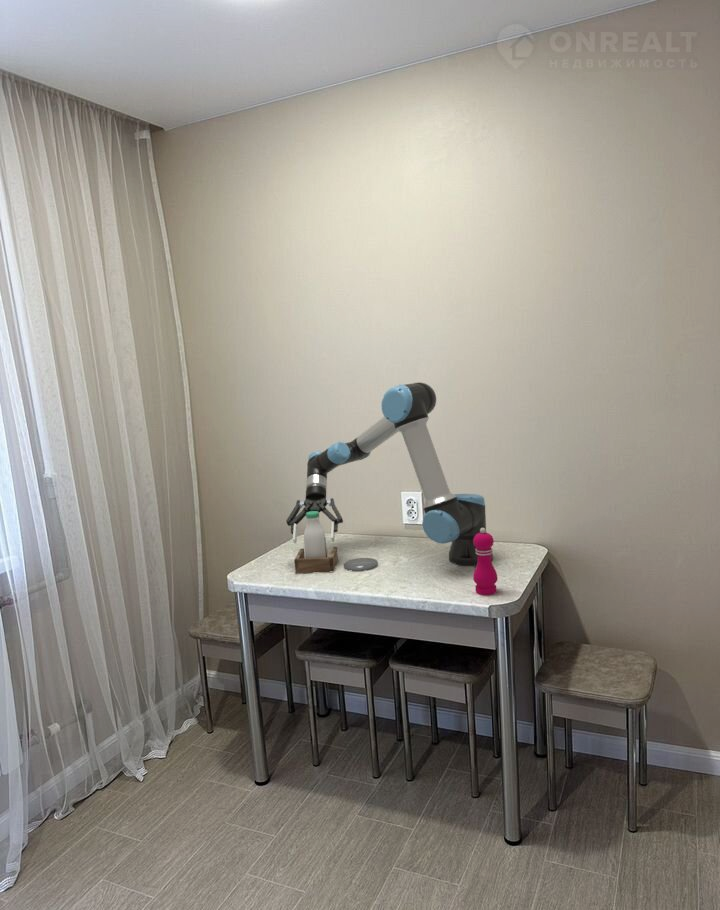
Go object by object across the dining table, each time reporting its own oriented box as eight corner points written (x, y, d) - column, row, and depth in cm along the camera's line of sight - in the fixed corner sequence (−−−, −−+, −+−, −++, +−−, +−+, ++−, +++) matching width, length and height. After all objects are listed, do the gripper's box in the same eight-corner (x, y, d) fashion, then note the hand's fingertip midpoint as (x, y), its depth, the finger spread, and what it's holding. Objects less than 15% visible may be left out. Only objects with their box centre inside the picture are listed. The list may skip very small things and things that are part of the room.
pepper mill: (471, 595, 212) (468, 530, 209) (476, 586, 218) (473, 524, 215) (495, 596, 209) (492, 531, 206) (500, 588, 216) (497, 524, 213)
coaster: (383, 566, 245) (383, 563, 245) (352, 573, 240) (352, 570, 240) (368, 558, 256) (368, 555, 256) (338, 564, 251) (338, 562, 251)
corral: (333, 572, 243) (332, 558, 243) (295, 573, 245) (294, 560, 244) (338, 559, 257) (336, 546, 256) (301, 561, 258) (300, 548, 257)
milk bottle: (325, 570, 246) (320, 514, 243) (303, 570, 248) (298, 515, 245) (330, 563, 254) (325, 509, 250) (309, 563, 255) (304, 509, 252)
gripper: (351, 493, 262) (350, 543, 249) (285, 497, 264) (280, 547, 252) (348, 482, 256) (347, 533, 243) (281, 486, 258) (276, 537, 246)
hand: (313, 540), depth 248 cm, fingers open, 13 cm apart
